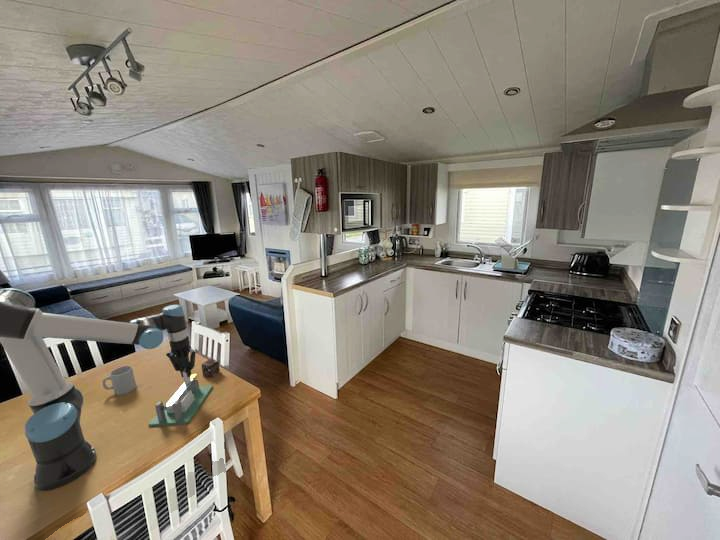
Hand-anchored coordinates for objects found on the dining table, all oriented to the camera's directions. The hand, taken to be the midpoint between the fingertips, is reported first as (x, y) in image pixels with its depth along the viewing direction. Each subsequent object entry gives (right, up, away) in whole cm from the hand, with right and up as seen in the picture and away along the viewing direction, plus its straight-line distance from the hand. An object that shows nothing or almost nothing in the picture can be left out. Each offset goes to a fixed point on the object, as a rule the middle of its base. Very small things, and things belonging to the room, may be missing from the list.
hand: (187, 382), depth 132 cm
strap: (0, -3, -5) cm, 5 cm away
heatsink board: (0, -9, -3) cm, 10 cm away
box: (+1, -4, +20) cm, 20 cm away
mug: (-38, -7, +7) cm, 39 cm away
